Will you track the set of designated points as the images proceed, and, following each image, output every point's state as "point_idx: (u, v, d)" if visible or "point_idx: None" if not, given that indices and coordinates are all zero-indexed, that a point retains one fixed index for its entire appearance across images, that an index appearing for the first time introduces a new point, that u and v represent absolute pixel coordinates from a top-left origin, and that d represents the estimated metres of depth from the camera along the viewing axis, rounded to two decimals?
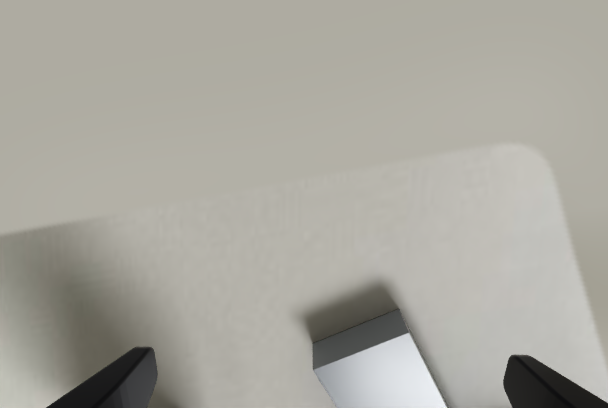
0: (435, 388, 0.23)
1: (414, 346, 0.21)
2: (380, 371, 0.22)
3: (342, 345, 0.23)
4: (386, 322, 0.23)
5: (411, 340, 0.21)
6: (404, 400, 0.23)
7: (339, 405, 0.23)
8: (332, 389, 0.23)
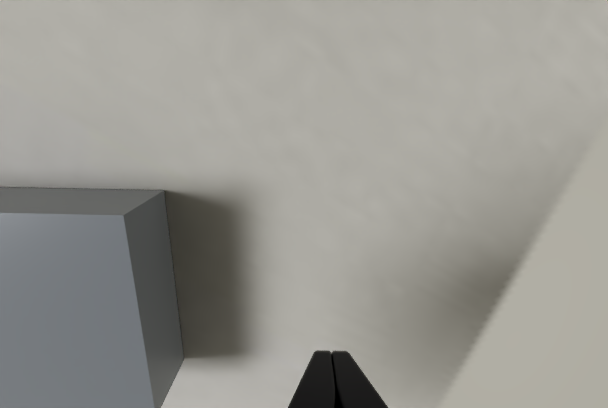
0: None
1: None
2: (73, 342, 0.10)
3: (154, 273, 0.10)
4: (172, 350, 0.12)
5: None
6: None
7: None
8: (45, 229, 0.09)
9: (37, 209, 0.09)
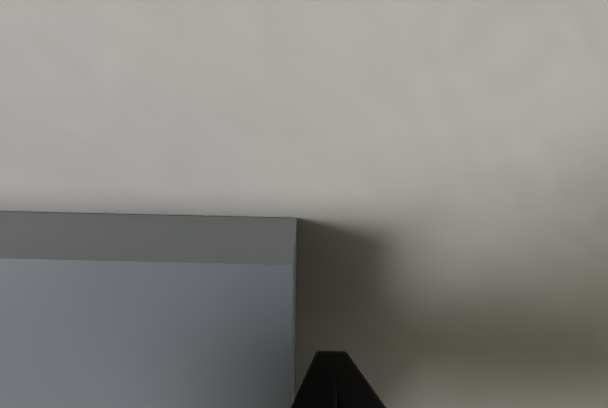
0: None
1: None
2: None
3: None
4: None
5: None
6: None
7: (93, 272, 0.06)
8: (178, 284, 0.06)
9: (161, 253, 0.06)
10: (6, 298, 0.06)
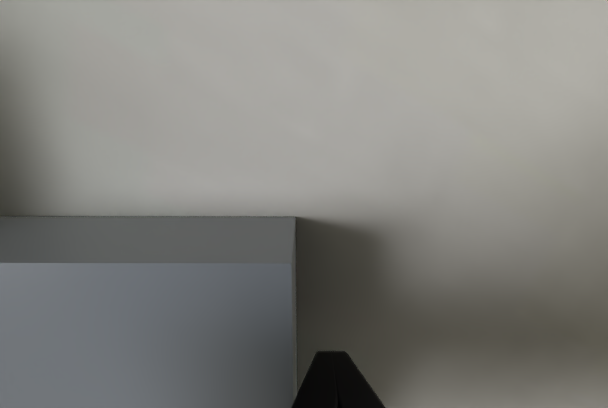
0: None
1: None
2: None
3: (294, 328, 0.08)
4: None
5: None
6: None
7: (93, 274, 0.06)
8: (178, 284, 0.06)
9: (161, 254, 0.06)
10: (8, 302, 0.06)
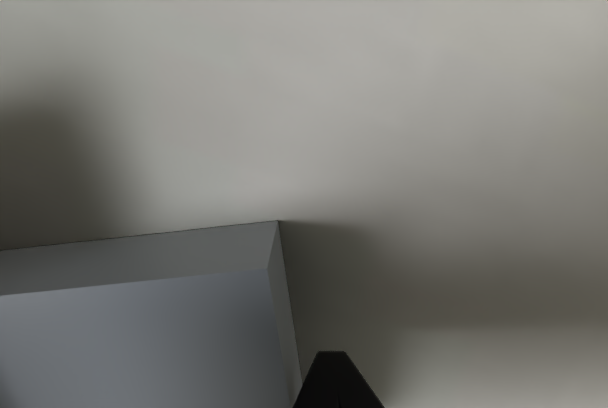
0: None
1: None
2: None
3: (286, 331, 0.08)
4: None
5: None
6: None
7: (78, 299, 0.06)
8: (160, 300, 0.06)
9: (142, 272, 0.06)
10: (2, 333, 0.06)
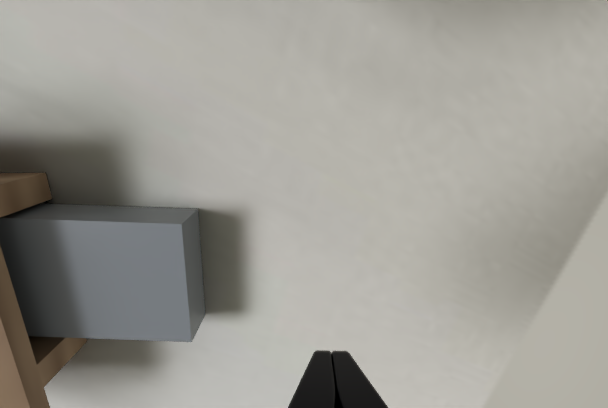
0: (98, 337, 0.18)
1: (170, 339, 0.18)
2: (147, 294, 0.17)
3: (192, 256, 0.18)
4: (199, 306, 0.19)
5: (179, 340, 0.18)
6: (89, 300, 0.17)
7: (107, 226, 0.16)
8: (139, 231, 0.16)
9: (133, 220, 0.16)
10: (74, 236, 0.16)
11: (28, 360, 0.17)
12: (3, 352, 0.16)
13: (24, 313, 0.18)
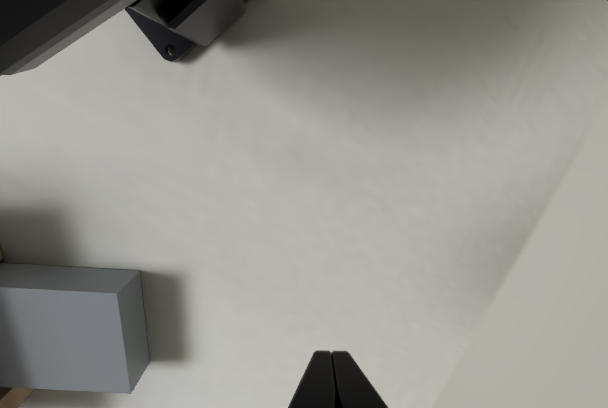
0: (44, 387, 0.20)
1: (110, 391, 0.20)
2: (88, 352, 0.19)
3: (132, 316, 0.19)
4: (142, 357, 0.21)
5: (119, 392, 0.20)
6: (35, 356, 0.19)
7: (48, 293, 0.18)
8: (78, 298, 0.18)
9: (74, 287, 0.18)
10: (18, 301, 0.18)
11: None
12: None
13: None
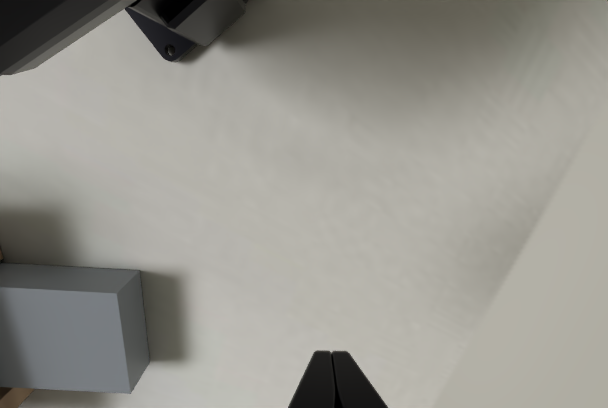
0: (44, 387, 0.20)
1: (110, 391, 0.20)
2: (88, 352, 0.19)
3: (132, 316, 0.19)
4: (142, 357, 0.21)
5: (119, 392, 0.20)
6: (35, 356, 0.19)
7: (48, 293, 0.18)
8: (78, 298, 0.18)
9: (74, 287, 0.18)
10: (18, 301, 0.18)
11: None
12: None
13: None
